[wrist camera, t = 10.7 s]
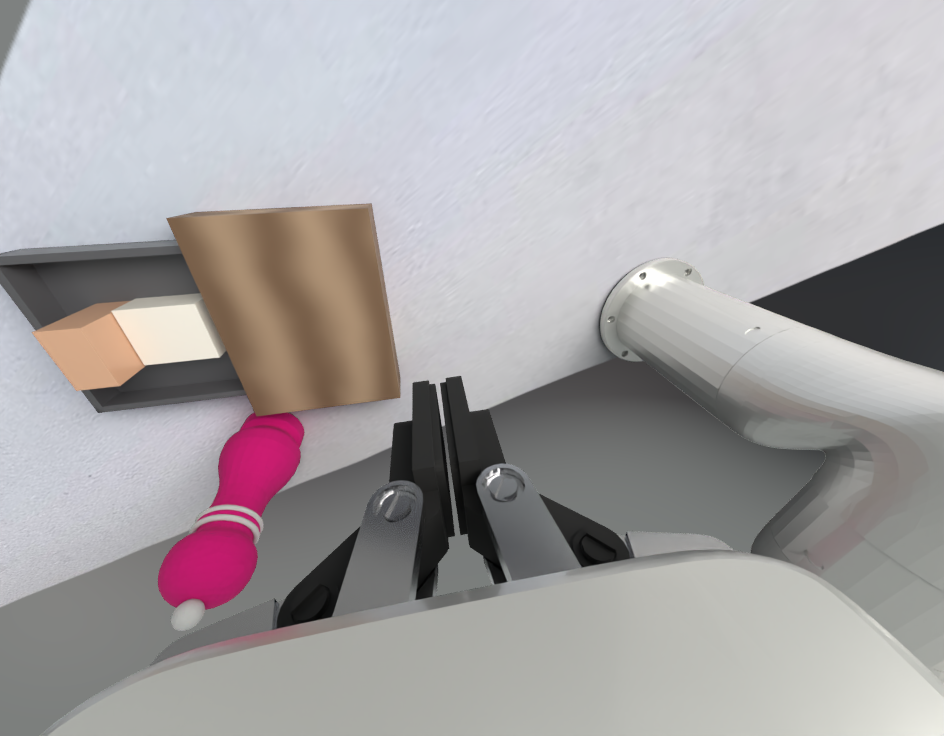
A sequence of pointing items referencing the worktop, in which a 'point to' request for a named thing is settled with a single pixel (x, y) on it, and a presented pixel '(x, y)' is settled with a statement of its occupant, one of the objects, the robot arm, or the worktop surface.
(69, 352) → the tan rectangular block
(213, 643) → the robot arm
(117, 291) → the bin
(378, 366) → the walnut block
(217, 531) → the pepper mill
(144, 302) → the tile cream
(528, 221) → the worktop surface
